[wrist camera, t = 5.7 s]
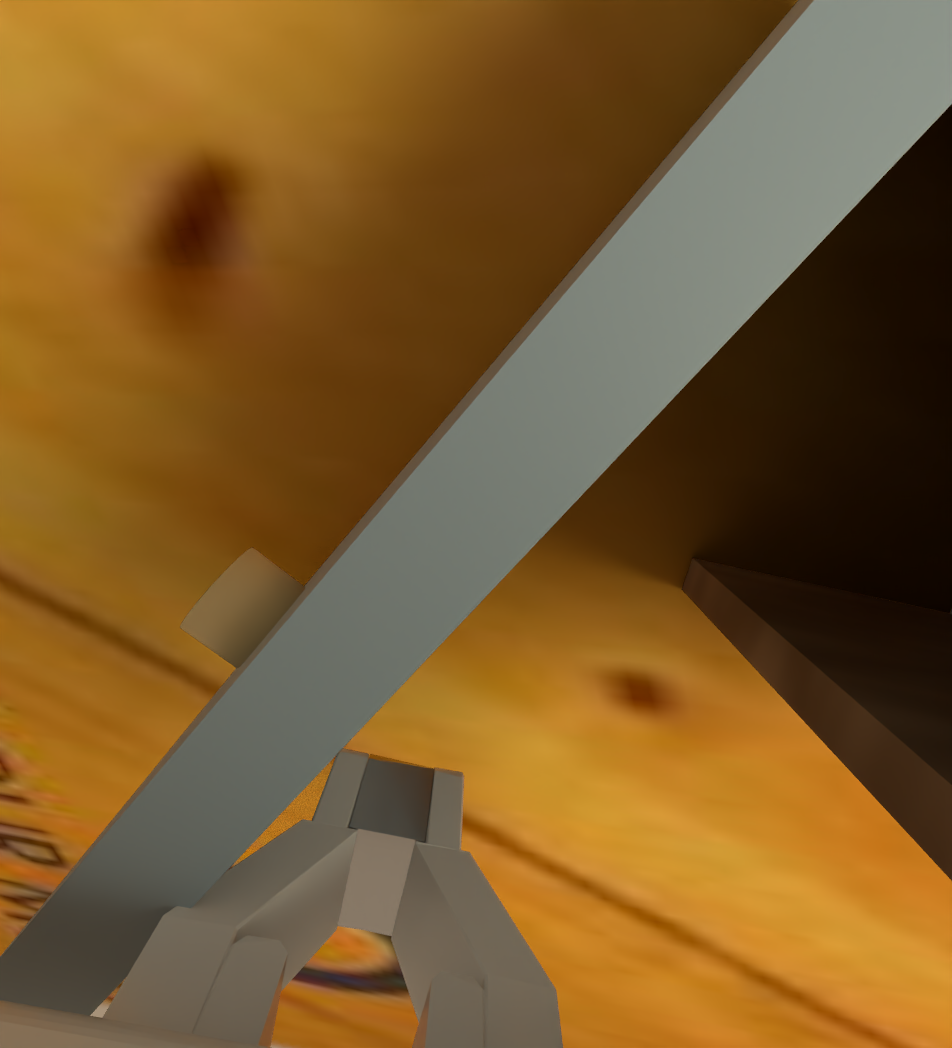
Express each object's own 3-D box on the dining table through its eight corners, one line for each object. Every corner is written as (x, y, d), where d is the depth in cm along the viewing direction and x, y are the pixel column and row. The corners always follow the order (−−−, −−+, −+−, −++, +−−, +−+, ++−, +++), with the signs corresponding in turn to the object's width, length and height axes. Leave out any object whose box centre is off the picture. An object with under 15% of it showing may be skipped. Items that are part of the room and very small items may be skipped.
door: (812, -109, 11) (2536, -2592, 2) (885, -15, 12) (2613, -1654, 2) (243, 591, 15) (-127, 937, 6) (311, 642, 16) (66, 1041, 6)
